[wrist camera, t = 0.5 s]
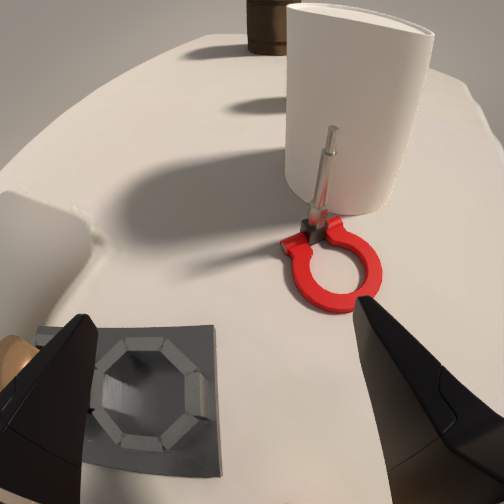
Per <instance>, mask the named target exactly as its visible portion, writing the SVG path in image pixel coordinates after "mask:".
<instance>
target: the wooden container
mask: <svg viewBox="0 0 504 504" xmlns="http://www.w3.org/2000/svg"><path fill="white" fill-rule="evenodd" d="M294 3H301V0H247V37H248V50H249V51H250V52H253V53H256V54H262V55H287V10H286V6H287V5H288V4H294Z"/></svg>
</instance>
